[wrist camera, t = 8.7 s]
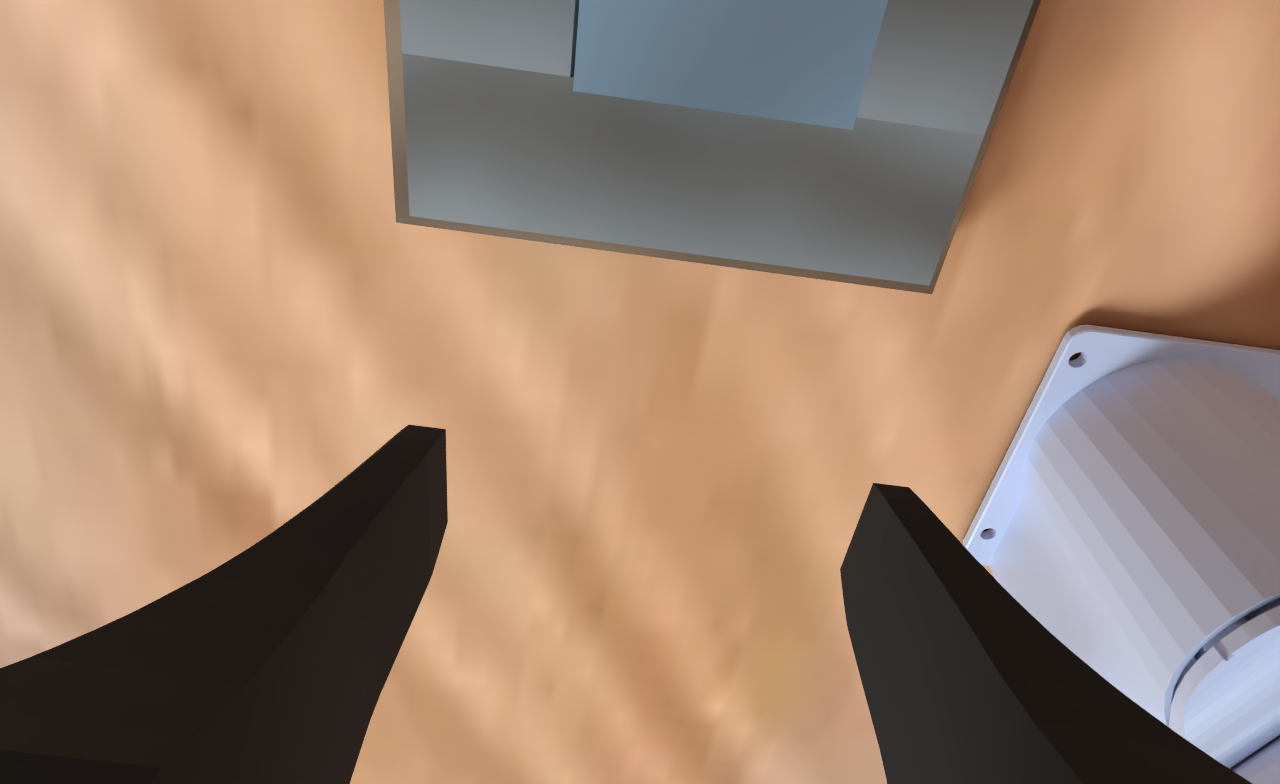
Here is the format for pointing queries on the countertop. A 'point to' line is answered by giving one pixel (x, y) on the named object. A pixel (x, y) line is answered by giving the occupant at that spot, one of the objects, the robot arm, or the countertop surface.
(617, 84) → the blue peg
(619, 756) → the countertop surface
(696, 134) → the socket block
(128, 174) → the countertop surface
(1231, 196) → the countertop surface
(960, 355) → the countertop surface
